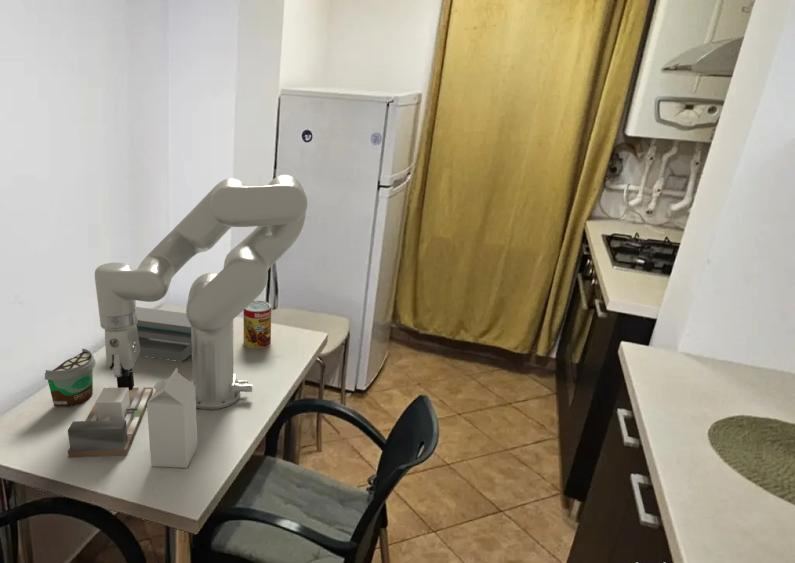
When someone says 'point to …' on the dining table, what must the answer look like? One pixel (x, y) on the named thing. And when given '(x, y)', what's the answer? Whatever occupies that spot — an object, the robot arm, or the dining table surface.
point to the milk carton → (172, 422)
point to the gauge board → (108, 429)
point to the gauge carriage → (114, 403)
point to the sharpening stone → (163, 334)
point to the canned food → (257, 325)
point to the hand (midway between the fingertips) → (126, 388)
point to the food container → (72, 380)
